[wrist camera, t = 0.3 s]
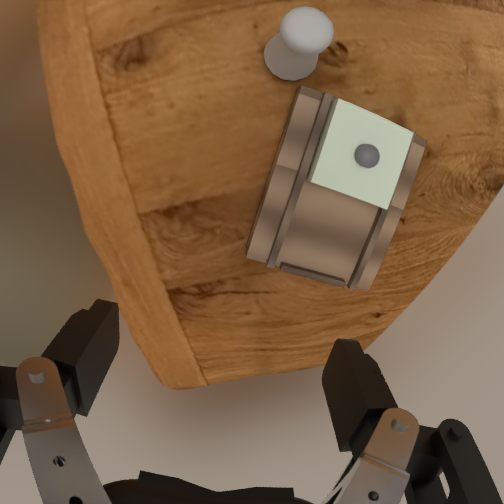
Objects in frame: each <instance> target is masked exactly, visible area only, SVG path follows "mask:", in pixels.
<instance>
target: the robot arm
mask: <svg viewBox="0 0 504 504" xmlns="http://www.w3.org/2000/svg"><path fill="white" fill-rule="evenodd" d="M119 338H120V337H119V308H118V304H117V303H115V302H110V301H106V300H101V299H97V300H96V301H95V302H94V304H93V305H92V306H91V308H90V309H89V310H85V309H82V310H80V311H78V312H77V313H75V314H73V315H72V316H71V317H70V318H69V320H68V321H67V322H66V324H65V325H64V326H63V327H62V329H61V330H60V333H59V332H58V334H57V335H56V336H55V338H54V339H53V340H52V342H51V343H50V345H49V346H48V347H47V349H46V350H45V351H44V353H43V354H42V355H41V357H31V358H28V359H26V360H24V361H22V362H21V363H20V364H19V366H18V367H6V366H0V464H1V462H2V460H3V457H4V455H5V453H6V450H7V448H8V446H9V444H10V441H11V439H12V437H13V435H14V433H15V431H16V430H21V431H22V433H23V438H24V442H25V446H26V450H27V454H28V457H29V461H30V464H31V468H32V471H33V475H34V478H35V481H36V484H37V487H38V490H39V493H40V496H41V499H42V501H43V504H313V503H311V502H308V501H306V500H303V499H300V498H296V497H294V491H293V488H273V487H253V488H246V489H239V490H231V491H223V492H216V491H212V490H209V489H206V488H203V487H200V486H198V485H195V484H192V483H189V482H187V481H184V480H182V479H179V478H175V477H169V476H164V475H159V474H154V473H150V472H145V471H140V474H139V478H138V479H129V480H120V481H115V482H111V483H108V484H105V485H103V486H102V484H101V482H100V480H99V477H98V475H97V473H96V471H95V469H94V467H93V465H92V462H91V460H90V458H89V456H88V453H87V451H86V448H85V446H84V444H83V441H82V439H81V436H80V433H79V431H78V428H77V426H76V423H75V420H74V417H75V415H76V414H80V415H83V416H86V417H87V415H88V413H89V411H90V408H91V406H92V404H93V402H94V399H95V397H96V395H97V393H98V391H99V389H100V386H101V384H102V382H103V380H104V378H105V376H106V374H107V372H108V370H109V368H110V366H111V363H112V361H113V359H114V357H115V355H116V353H117V350H118V346H119ZM322 385H323V389H324V392H325V396H326V400H327V404H328V408H329V411H330V415H331V419H332V423H333V427H334V431H335V435H336V439H337V443H338V447H339V451H340V452H347V451H352V455H353V457H352V458H351V459H350V461H349V462H348V464H347V466H346V467H345V469H344V471H343V472H342V474H341V475H340V477H339V478H338V480H337V482H336V483H335V485H334V486H333V488H332V489H331V491H330V492H329V494H328V495H327V497H326V498H325V499H324V500H323V502H322V503H321V504H399V503H400V501H401V498H402V496H403V493H405V497H406V500H407V504H503V503H502V500H501V498H500V496H499V493H498V491H497V488H496V486H495V484H494V482H493V479H492V477H491V475H490V473H489V470H488V468H487V466H486V464H485V462H484V460H483V458H482V456H481V453H480V451H479V449H478V447H477V445H476V443H475V442H474V439H473V437H472V435H471V433H470V431H469V429H468V428H467V427H466V426H465V425H464V424H463V423H462V422H460V421H458V420H455V419H446V420H444V421H442V423H441V424H440V425H439V426H438V428H432V427H426V426H421V425H419V423H418V421H417V419H416V418H415V417H414V416H413V415H412V414H411V413H410V412H408V411H406V410H404V409H401V408H398V406H397V404H396V402H395V400H394V397H393V395H392V393H391V391H390V389H389V387H388V385H387V383H386V382H385V379H384V377H383V375H382V374H381V370H380V368H379V366H378V364H377V362H375V360H373V359H372V358H371V357H370V356H369V355H368V354H364V352H363V350H362V348H361V346H360V344H359V342H358V341H357V340H349V339H337V340H336V341H335V343H334V346H333V348H332V351H331V353H330V355H329V358H328V360H327V363H326V365H325V367H324V370H323V374H322ZM442 472H444V474H445V477H446V480H447V482H448V485H449V489H450V493H449V497H448V499H447V497H446V494H445V492H444V489H443V486H442V483H441V480H440V478H439V475H440V474H441V473H442Z"/></svg>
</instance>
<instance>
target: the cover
mask: <svg viewBox="0 0 504 504" xmlns="http://www.w3.org/2000/svg"><path fill="white" fill-rule="evenodd" d="M412 136H413V132H411V131H409V130H407V129H405V128H403V127H401V126H399V125H397V124H395V123H393V122H391V121H389V120H387V119H385V118H383V117H381V116H378V115H376V114H374V113H372V112H370V111H367V110H365V109H363V108H360V107H358V106H356V105H353V104H351V103H349V102H346V101H344V100H341V99H339V98H338V99H335V100H332V102H331V105H330V108H329V111H328V115H327V118H326V121H325V124H324V127H323V130H322V133H321V136H320V139H319V142H318V145H317V148H316V151H315V154H314V157H313V160H312V163H311V166H310V169H309V172H308V175H307V178H306V179H308V180H309V181H310V182H312V183H315V184H318V185H321V186H324V187H327V188H330V189H333V190H335V191H338V192H341V193H344V194H346V195H349V196H352V197H355V198H357V199H360V200H363V201H365V202H368V203H371V204H373V205H376V206H378V207H381V208H384V209H386V210H387V209H388V206H389V203H390V201H391V198H392V195H393V193H394V190H395V187H396V184H397V181H398V179H399V176H400V173H401V170H402V167H403V164H404V161H405V158H406V155H407V152H408V149H409V146H410V143H411V140H412Z"/></svg>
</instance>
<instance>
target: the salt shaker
mask: <svg viewBox="0 0 504 504" xmlns="http://www.w3.org/2000/svg"><path fill="white" fill-rule="evenodd" d="M333 35H334V29H333V24H332V22H331V20H330V19H329V18H328V17H327V15H326V14H325V13H323V12H321V11H320V10H318V9H316V8H312V7H306V6H303V7H298V8H294V9H292V10H291V11H290V12H288V13H287V14H286V15H285V16H284V17H283V19H282V21H281V24H280V26H279V33H277V34H276V35H275V36H274V37H273V38H271V39H270V40H269V41H268V42H267V44H266V47H265V50H264V52H263V53H264V59H265V64H266V66H267V67H268V68H269V70H270V71H271V72H272V74H274V75H276V76H278V77H279V78H281V79H284V80H292V81H296V80H299V79H302V78H306V77H307V76H308V75H310V74H311V73H312V72H313V71H314V70H315V68H316V64H317V61H318V55H319V53H321V52H322V51H324V50H325V49H326V48H327V47H328V46H329V45H330V44H331V41H332V38H333Z"/></svg>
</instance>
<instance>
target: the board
mask: <svg viewBox="0 0 504 504" xmlns="http://www.w3.org/2000/svg"><path fill="white" fill-rule="evenodd" d="M335 99H338V98H335V97H333V94H330V93H327V92H324V93H322V92H320V91H317V90H314V89H311V88H309V87H306V86H303V85H301V86H300V87H299V88H298V89H297V91H296V94H295V98H294V101H293V104H292V107H291V110H290V113H289V116H288V119H287V122H286V125H285V128H284V131H283V134H282V137H281V141H280V144H279V147H278V150H277V153H276V156H275V159H274V162H273V165H272V168H271V171H270V175H269V178H268V181H267V184H266V187H265V190H264V193H263V196H262V199H261V203H260V206H259V209H258V212H257V215H256V218H255V221H254V224H253V228H252V231H251V234H250V237H249V240H248V243H247V246H246V258H248V259H252V260H256V261H259V262H263V263H266V265H267V267H269V268H273V269H274V266H278V267H280V271H284V272H287V273H291V274H295V275H299V276H302V277H306V278H310V279H313V280H317V281H321V282H325V283H328V284H332V285H336V286H340V287H344V285H347V286H348V288H349V289H351V290H355V289H356V288H359V289H363V290H366V291H369V289H370V287H371V285H372V283H373V280H374V278H375V276H376V274H377V272H378V269H379V267H380V265H381V263H382V260H383V258H384V256H385V254H386V251H387V249H388V247H389V244H390V242H391V239H392V237H393V235H394V232H395V230H396V227H397V225H398V222H399V220H400V217H401V214H402V212H403V209H404V207H405V204H406V201H407V199H408V196H409V193H410V190H411V188H412V185H413V182H414V179H415V176H416V173H417V171H418V168H419V165H420V162H421V159H422V155H423V152H424V149H425V146H426V143H427V140H425V139H424V138H422V137H420V136H418V135H416V134H415V133H416V132H414V131H412V130H410V129H407V130H409V131H411V132H413V136H412V140H411V143H410V146H409V149H408V152H407V155H406V158H405V161H404V164H403V167H402V170H401V173H400V176H399V179H398V181H397V184H396V187H395V190H394V193H393V195H392V198H391V201H390V203H389V206H388V209H387V210H386V209H384V208H381V207H378V206H376V205H373V204H371V203H368V202H365V201H363V200H360V199H357V198H355V197H352V196H349V195H346V194H344V193H341V192H338V191H335V190H333V189H330V188H327V187H324V186H321V185H318V184H315V183H312V182H310V181H309V180H308V179H306V178H307V175H308V172H309V169H310V166H311V163H312V160H313V157H314V154H315V151H316V148H317V145H318V142H319V139H320V136H321V133H322V130H323V127H324V124H325V121H326V118H327V115H328V111H329V108H330V105H331V102H332V100H335Z"/></svg>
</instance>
